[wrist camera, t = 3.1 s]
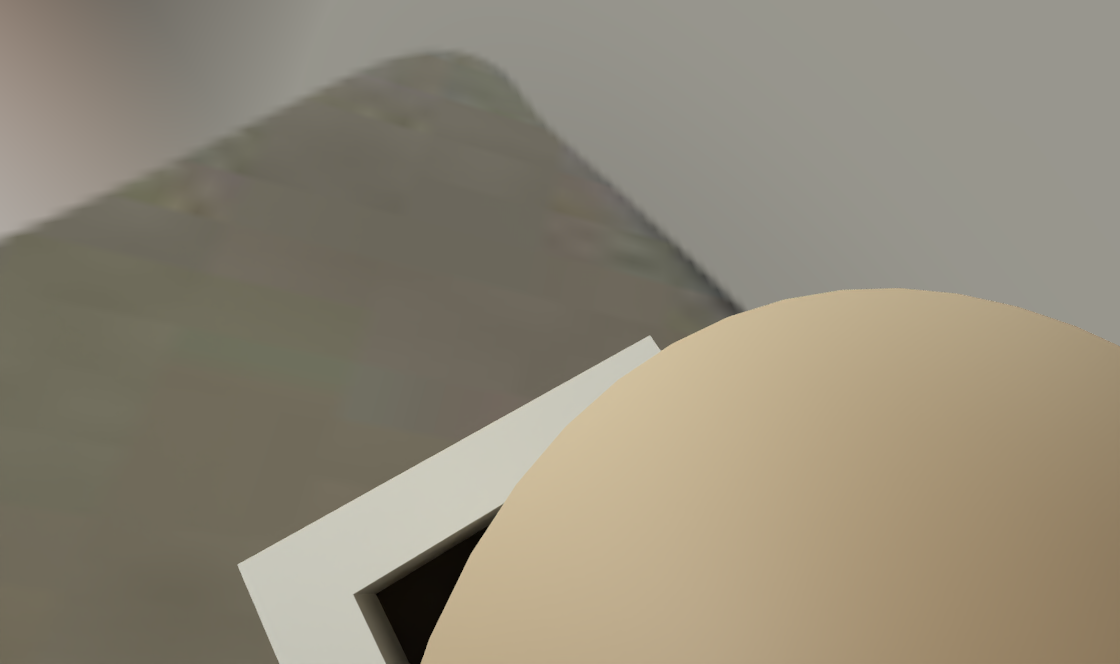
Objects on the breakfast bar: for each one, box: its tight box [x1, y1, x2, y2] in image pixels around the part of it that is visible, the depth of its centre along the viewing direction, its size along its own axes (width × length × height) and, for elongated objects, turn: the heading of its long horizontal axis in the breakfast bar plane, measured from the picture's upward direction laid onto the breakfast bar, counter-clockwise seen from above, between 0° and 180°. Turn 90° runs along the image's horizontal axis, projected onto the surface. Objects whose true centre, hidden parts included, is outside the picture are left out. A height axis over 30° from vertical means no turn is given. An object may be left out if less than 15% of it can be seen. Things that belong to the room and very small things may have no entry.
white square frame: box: [238, 336, 661, 664], centre depth 13 cm, size 9×9×3 cm
